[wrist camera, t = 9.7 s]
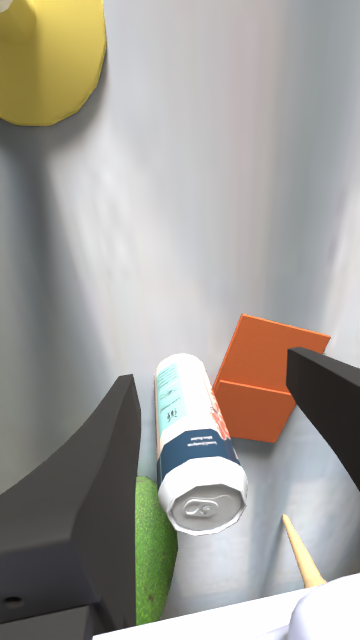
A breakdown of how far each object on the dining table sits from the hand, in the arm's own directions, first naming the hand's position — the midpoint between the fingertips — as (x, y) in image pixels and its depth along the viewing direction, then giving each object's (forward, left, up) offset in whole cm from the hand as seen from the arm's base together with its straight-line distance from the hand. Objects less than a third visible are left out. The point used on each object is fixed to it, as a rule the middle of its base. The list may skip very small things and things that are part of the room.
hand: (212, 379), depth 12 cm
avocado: (-1, +21, -11) cm, 24 cm away
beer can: (-1, +6, -11) cm, 12 cm away
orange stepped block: (-9, +6, -10) cm, 15 cm away
